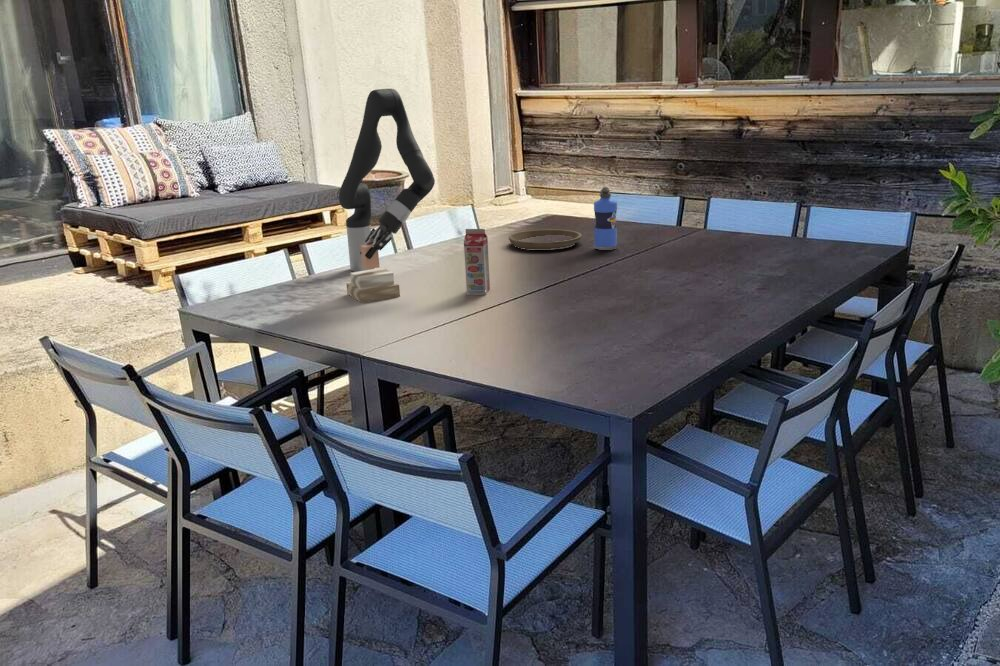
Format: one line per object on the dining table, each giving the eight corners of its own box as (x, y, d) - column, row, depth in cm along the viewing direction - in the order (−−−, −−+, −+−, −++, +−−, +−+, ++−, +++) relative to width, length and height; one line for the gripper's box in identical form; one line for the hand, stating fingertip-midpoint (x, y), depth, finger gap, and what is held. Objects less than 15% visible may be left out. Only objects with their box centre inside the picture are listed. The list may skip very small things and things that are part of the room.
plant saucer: (545, 235, 394) (545, 225, 392) (597, 243, 372) (596, 233, 370) (493, 247, 374) (493, 236, 373) (545, 256, 352) (545, 245, 351)
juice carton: (471, 289, 304) (467, 227, 298) (489, 290, 303) (486, 227, 296) (466, 294, 298) (463, 230, 291) (485, 295, 297) (482, 230, 290)
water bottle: (590, 249, 359) (589, 188, 352) (601, 245, 366) (600, 185, 359) (610, 251, 354) (610, 189, 346) (621, 247, 361) (621, 186, 354)
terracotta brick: (362, 267, 300) (360, 245, 298) (374, 265, 302) (372, 243, 300) (367, 269, 297) (365, 247, 294) (379, 267, 299) (377, 245, 296)
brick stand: (347, 294, 305) (345, 272, 303) (384, 288, 311) (383, 266, 309) (361, 302, 293) (359, 279, 291) (400, 296, 300) (398, 273, 297)
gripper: (379, 207, 303) (349, 246, 301) (394, 212, 291) (363, 253, 289) (394, 220, 307) (365, 259, 305) (410, 226, 295) (380, 266, 293)
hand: (364, 256), depth 297 cm, fingers closed on terracotta brick, 4 cm apart
